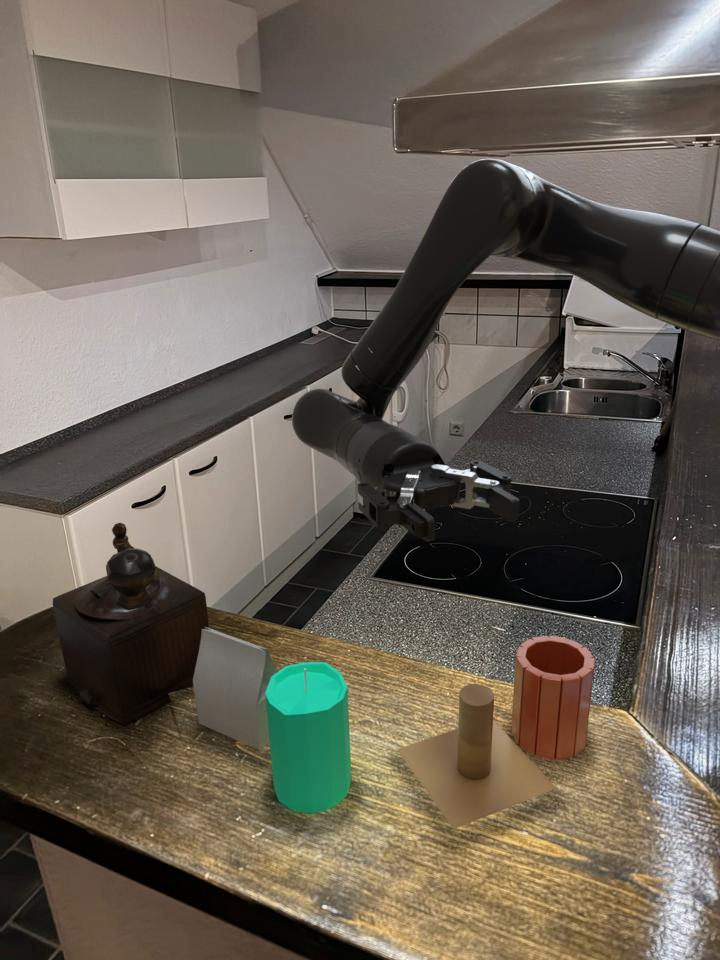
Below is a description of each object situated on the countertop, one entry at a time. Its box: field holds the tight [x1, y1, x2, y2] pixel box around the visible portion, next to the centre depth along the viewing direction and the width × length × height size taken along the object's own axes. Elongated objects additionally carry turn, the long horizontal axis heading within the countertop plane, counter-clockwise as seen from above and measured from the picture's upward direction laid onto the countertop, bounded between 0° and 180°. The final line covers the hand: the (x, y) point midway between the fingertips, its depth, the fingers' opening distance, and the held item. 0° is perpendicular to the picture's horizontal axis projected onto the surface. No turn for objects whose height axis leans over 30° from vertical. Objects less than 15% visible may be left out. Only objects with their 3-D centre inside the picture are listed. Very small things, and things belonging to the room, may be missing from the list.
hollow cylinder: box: [510, 635, 596, 761], centre depth 62 cm, size 6×6×9 cm
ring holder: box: [397, 683, 557, 830], centre depth 59 cm, size 9×9×8 cm
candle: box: [265, 661, 352, 814], centre depth 57 cm, size 6×6×12 cm
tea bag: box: [193, 627, 279, 751], centre depth 64 cm, size 4×7×10 cm, turn 59°
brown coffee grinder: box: [52, 522, 210, 726], centre depth 69 cm, size 16×11×18 cm
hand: (474, 521), depth 67 cm, fingers open, 8 cm apart
